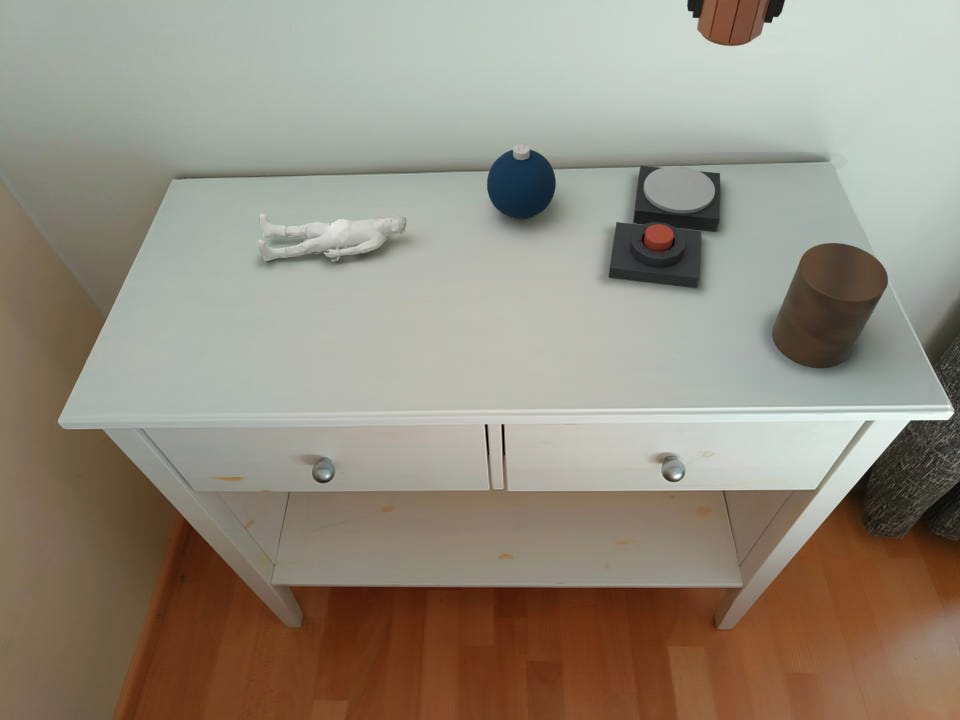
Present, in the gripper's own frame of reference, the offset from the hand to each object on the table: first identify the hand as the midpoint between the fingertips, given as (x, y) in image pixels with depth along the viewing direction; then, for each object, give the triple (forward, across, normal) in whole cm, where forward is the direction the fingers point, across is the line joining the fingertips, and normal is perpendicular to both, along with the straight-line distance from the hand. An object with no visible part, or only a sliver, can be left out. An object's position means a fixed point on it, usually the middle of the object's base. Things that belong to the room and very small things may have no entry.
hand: (731, 16), depth 72 cm
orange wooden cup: (+2, 0, 0) cm, 2 cm away
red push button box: (+25, -3, -8) cm, 27 cm away
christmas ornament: (+25, -20, -2) cm, 32 cm away
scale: (+25, -1, +2) cm, 25 cm away
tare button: (+22, -3, -8) cm, 24 cm away
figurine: (+25, -41, -12) cm, 50 cm away
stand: (+25, +14, -18) cm, 34 cm away
